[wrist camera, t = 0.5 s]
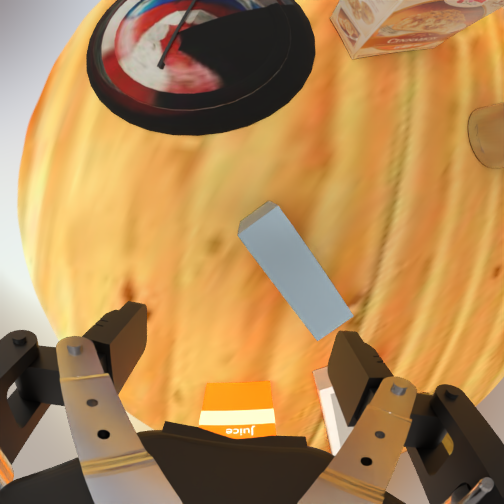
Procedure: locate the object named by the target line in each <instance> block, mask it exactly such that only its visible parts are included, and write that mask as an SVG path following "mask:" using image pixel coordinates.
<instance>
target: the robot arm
mask: <svg viewBox="0 0 504 504" xmlns="http://www.w3.org/2000/svg"><path fill="white" fill-rule="evenodd" d="M468 133H469V139H470V143H471V146H472V149H473V151H474V153H475V155H476V156H477V158H478V159H479V160H480V162H481V163H483V164H484V165H485V166H487V167H490V168H504V103H500V104H495V105H491V106H487V107H483V108H479V109H476V110H475V111H474V112H472V114H471V116H470V119H469V124H468ZM146 341H147V307H146V305H145V304H141V303H136V302H131V301H128V302H127V303H126V304H125V305H124V306H123V307H122V308H121V309H120V310H114V311H111V312H109V313H106V314H105V315H104V316H103V317H102V318H101V319H100V320H99V321H98V322H97V323H96V324H95V325H94V326H93V327H91V328H90V329H89V330H88V331H87V332H86V333H85V334H84V335H83V336H82V337H79V336H72V337H67V338H64V339H62V340H60V341H59V342H58V343H57V345H56V347H46V346H38V341H37V337H36V335H35V334H34V333H32V332H30V331H26V330H17V331H13V332H10V333H9V334H7V335H6V336H4V337H3V338H2V339H1V340H0V504H406V503H404V502H402V501H401V500H399V499H397V498H396V497H394V496H393V495H391V494H390V493H388V492H386V491H385V490H386V488H387V486H388V484H389V481H390V479H391V477H392V474H393V472H394V469H395V467H396V465H397V462H398V459H399V457H400V454H401V452H402V449H403V446H404V447H406V449H407V451H408V453H409V455H410V458H411V460H412V462H413V465H414V467H415V469H416V471H417V474H418V476H419V478H420V481H421V483H422V486H423V488H424V490H425V493H426V495H427V498H428V500H429V503H430V504H504V444H503V443H502V441H501V440H500V438H499V437H498V436H497V435H496V433H495V432H494V430H493V429H492V428H491V427H490V425H489V424H488V423H487V421H486V420H485V419H484V417H483V416H482V415H481V413H480V412H479V411H478V410H477V408H476V407H475V406H474V405H473V403H472V402H471V401H470V400H469V398H468V397H467V396H466V395H465V393H464V392H463V391H462V390H460V389H459V388H457V387H455V386H452V385H447V384H443V385H439V386H438V387H437V388H436V390H435V392H434V394H433V395H426V394H419V393H417V389H416V387H415V386H414V385H413V384H412V383H411V382H410V381H408V380H406V379H404V378H400V377H394V376H393V375H392V373H391V372H390V370H389V369H388V367H387V366H386V365H385V363H383V360H382V359H381V357H379V355H378V353H377V352H376V350H375V349H374V348H372V347H371V346H369V345H368V344H367V343H364V342H363V340H362V339H361V337H360V336H359V334H358V333H357V332H353V331H339V332H338V333H337V335H336V339H335V342H334V346H333V349H332V352H331V356H330V359H329V362H328V377H329V379H330V382H331V384H332V387H333V390H334V392H335V395H336V398H337V400H338V403H339V406H340V408H341V411H342V414H343V416H344V419H345V422H346V424H347V427H354V428H353V430H352V431H351V433H350V435H349V436H348V438H347V439H346V441H345V442H344V444H343V445H342V447H341V448H340V450H339V451H338V453H337V454H336V455H335V456H334V455H332V454H330V453H328V452H326V451H323V450H320V449H317V448H313V447H309V446H307V442H306V437H299V436H273V435H271V436H263V437H254V438H243V439H234V438H230V437H227V436H224V435H220V434H217V433H214V432H211V431H208V430H205V429H202V428H200V427H194V426H188V425H182V424H177V423H172V422H167V421H165V424H164V427H163V430H152V431H143V432H138V433H136V432H135V430H134V428H133V426H132V424H131V422H130V420H129V418H128V416H127V414H126V412H125V409H124V407H123V405H122V403H121V401H120V399H119V396H118V394H119V392H120V391H121V389H122V387H123V386H124V384H125V382H126V380H127V379H128V377H129V375H130V374H131V372H132V370H133V369H134V367H135V365H136V364H137V362H138V360H139V359H140V357H141V355H142V354H143V352H144V350H145V347H146ZM14 382H15V383H16V386H17V389H16V390H15V391H14V392H13V394H11V396H10V397H9V398H8V399H7V391H8V389H9V387H10V386H11V385H12V384H13V383H14ZM51 404H54V405H61V406H65V409H66V413H67V418H68V422H69V426H70V430H71V433H72V437H73V441H74V444H75V447H76V451H77V454H78V458H75V459H73V460H70V461H67V462H65V463H62V464H60V465H57V466H54V467H52V468H49V469H46V470H43V471H40V472H38V473H34V474H31V475H29V476H25V477H22V478H19V479H16V480H14V481H13V477H14V471H13V468H12V466H11V465H12V463H13V462H14V460H15V458H16V457H17V455H18V453H19V452H20V450H21V449H22V447H23V445H24V444H25V442H26V441H27V439H28V438H29V436H30V434H31V433H32V431H33V430H34V428H35V427H36V425H37V424H38V422H39V421H40V419H41V418H42V416H43V415H44V414H45V412H46V410H47V409H48V408H49V406H50V405H51ZM447 432H448V434H449V435H450V437H451V439H452V441H453V451H452V453H451V455H449V453H448V452H447V450H446V448H445V446H444V444H443V443H442V440H443V439H444V437H445V436H446V434H447Z"/></svg>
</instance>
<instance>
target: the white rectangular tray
mask: <svg viewBox="0 0 504 504" xmlns="http://www.w3.org/2000/svg"><path fill="white" fill-rule="evenodd" d="M313 375H314V379H315V383H316V387H317V392H318V396H319V400H320V404H321V409H322V413H323V417H324V422H325V426H326V430H327V435H328V439H329V444H330V448H331V453H332V455H334V456H335V455H336V454H337V453H338V451H339V450H340V448H341V447H342V445H343V444H344V442H345V441H346V439H347V438H348V436H349V435H350V433H351V431H352V430H353V428H354V427H347V424H346V422H345V419H344V416H343V414H342V411H341V408H340V406H339V403H338V400H337V398H336V395H335V392H334V390H333V387H332V384H331V382H330V379H329V377H328V366H327V367H324V368H321V369H318V370H314V371H313Z"/></svg>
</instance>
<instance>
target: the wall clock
mask: <svg viewBox="0 0 504 504" xmlns="http://www.w3.org/2000/svg"><path fill="white" fill-rule="evenodd" d="M314 57H315V39H314V34H313V31H312V28H311V25H310V22H309V20H308V18H307V17H306V15H305V13H304V12H303V10H302V9H301V7H300V6H299V5H298V4H297V3H296V2H295V1H294V0H117V1H116V2H115V3H114V4H113V5H112V6H111V7H110V8H109V9H108V10H107V11H106V12H105V14H104V15H103V16H102V18H101V19H100V20H99V22H98V23H97V25H96V27H95V29H94V31H93V34H92V36H91V38H90V41H89V46H88V50H87V73H88V77H89V80H90V84H91V86H92V88H93V90H94V91H95V93H96V95H97V96H98V98H99V100H100V101H101V102H102V103H103V104H104V105H105V106H106V107H107V108H109V109H110V110H111V111H112V112H113V113H114V114H116V115H118V116H119V117H121V118H122V119H124V120H126V121H127V122H129V123H131V124H134V125H136V126H139V127H142V128H144V129H147V130H150V131H155V132H161V133H166V134H171V135H205V134H213V133H223V132H227V131H230V130H234V129H238V128H241V127H245V126H248V125H251V124H253V123H255V122H257V121H259V120H261V119H263V118H266V117H268V116H270V115H271V114H273V113H274V112H275V111H277V110H278V109H280V108H281V107H283V106H284V105H285V104H287V103H288V102H289V101H290V100H291V99H292V98H293V97H294V96H295V95H296V94H297V93H298V91H299V90H300V89H301V88H302V87H303V85H304V83H305V82H306V80H307V78H308V76H309V74H310V73H311V70H312V66H313V62H314Z"/></svg>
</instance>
